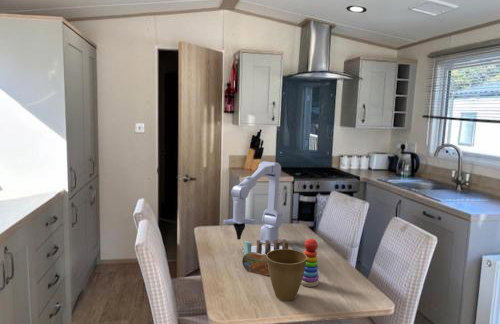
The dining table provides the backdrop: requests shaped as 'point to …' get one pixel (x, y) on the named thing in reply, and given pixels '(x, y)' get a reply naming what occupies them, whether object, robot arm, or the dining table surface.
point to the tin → (256, 263)
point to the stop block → (296, 248)
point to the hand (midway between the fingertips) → (238, 238)
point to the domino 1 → (247, 247)
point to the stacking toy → (310, 264)
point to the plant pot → (286, 272)
